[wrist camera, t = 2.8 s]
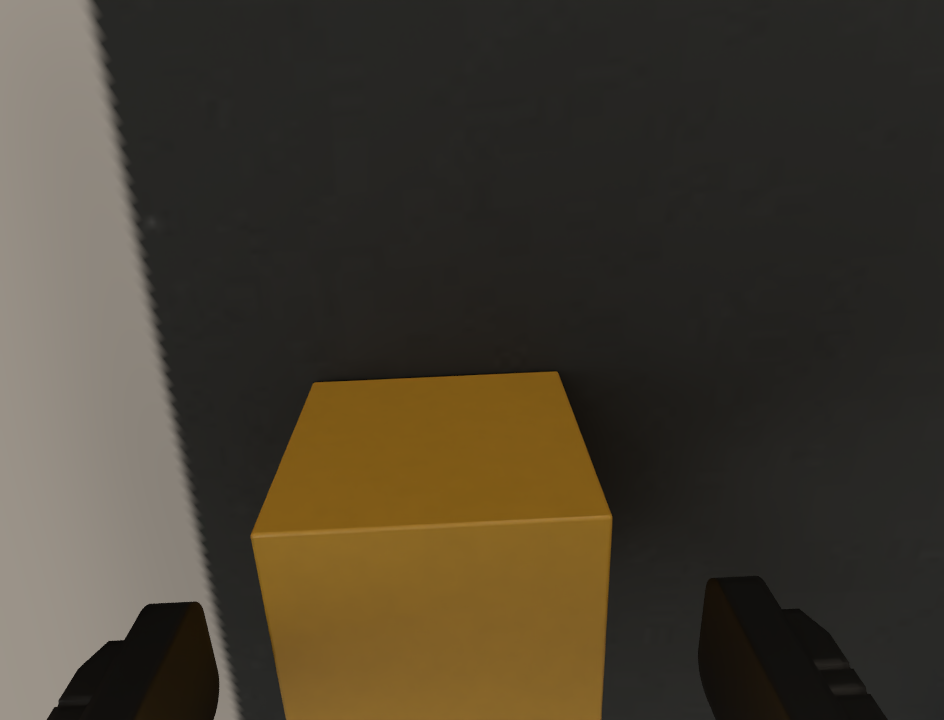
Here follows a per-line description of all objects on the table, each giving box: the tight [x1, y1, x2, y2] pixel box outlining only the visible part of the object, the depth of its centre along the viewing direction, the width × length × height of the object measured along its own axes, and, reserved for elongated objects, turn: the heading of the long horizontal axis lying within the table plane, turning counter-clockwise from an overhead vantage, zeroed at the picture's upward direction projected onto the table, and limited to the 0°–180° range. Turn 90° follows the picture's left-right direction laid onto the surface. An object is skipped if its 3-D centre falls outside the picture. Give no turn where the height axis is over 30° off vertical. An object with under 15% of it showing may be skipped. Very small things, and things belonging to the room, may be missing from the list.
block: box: [251, 371, 613, 720], centre depth 13 cm, size 5×5×5 cm
